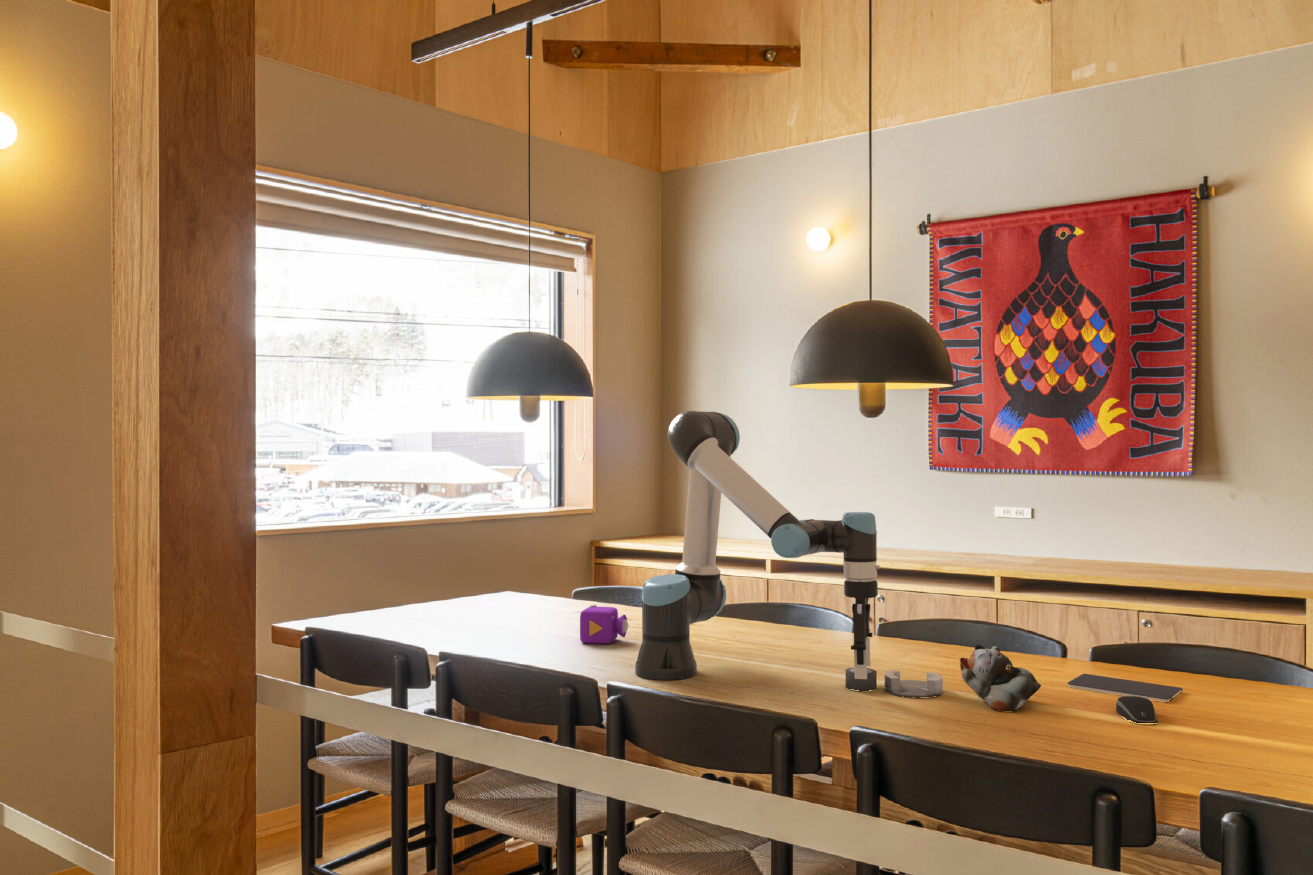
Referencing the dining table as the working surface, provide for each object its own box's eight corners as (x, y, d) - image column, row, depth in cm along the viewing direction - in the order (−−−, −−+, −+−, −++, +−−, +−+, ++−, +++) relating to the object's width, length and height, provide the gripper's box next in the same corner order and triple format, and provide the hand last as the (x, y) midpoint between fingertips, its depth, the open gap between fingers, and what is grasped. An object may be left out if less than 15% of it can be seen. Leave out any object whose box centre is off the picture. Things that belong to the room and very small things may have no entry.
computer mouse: (1126, 725, 189) (1126, 705, 189) (1110, 709, 201) (1110, 690, 201) (1165, 727, 187) (1165, 707, 187) (1146, 710, 199) (1146, 691, 199)
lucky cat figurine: (1011, 716, 194) (976, 654, 197) (971, 725, 204) (938, 666, 207) (1053, 685, 202) (1018, 626, 205) (1012, 695, 212) (980, 638, 215)
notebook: (1182, 694, 213) (1083, 679, 227) (1182, 687, 213) (1083, 673, 227) (1168, 706, 204) (1066, 689, 218) (1168, 698, 204) (1066, 682, 218)
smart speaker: (867, 693, 213) (867, 675, 213) (839, 688, 217) (839, 671, 217) (882, 687, 218) (882, 670, 218) (854, 683, 223) (854, 665, 223)
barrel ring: (941, 686, 219) (941, 670, 219) (943, 700, 207) (942, 683, 207) (885, 682, 222) (885, 667, 222) (883, 696, 210) (883, 679, 210)
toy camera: (627, 645, 265) (627, 609, 265) (578, 645, 265) (578, 609, 265) (629, 638, 276) (629, 603, 276) (582, 637, 276) (582, 603, 276)
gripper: (874, 586, 205) (877, 685, 204) (879, 573, 229) (881, 661, 228) (839, 586, 207) (841, 683, 206) (848, 572, 231) (849, 659, 230)
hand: (862, 672), depth 217 cm, fingers open, 13 cm apart
